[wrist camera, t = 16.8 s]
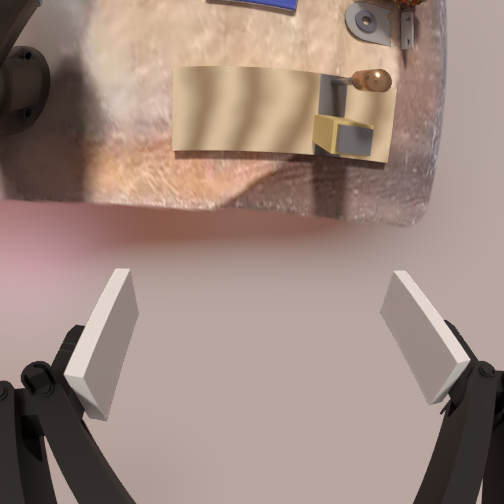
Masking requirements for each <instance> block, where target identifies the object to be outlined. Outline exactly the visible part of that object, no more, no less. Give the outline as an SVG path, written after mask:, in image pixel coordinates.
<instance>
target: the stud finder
mask: <svg viewBox="0 0 504 504" xmlns="http://www.w3.org/2000/svg"><path fill="white" fill-rule="evenodd" d="M373 127H374V126H373V125H370V124H366V123H363V122H359V121H356V120H352V119H349V118H343V117H335V116H327V115H319V114H314V125H313V136H312V142H314V143H316V144H317V145H319V146H320V147H322V148H323V149H325V150H326V151H328V152H329V153H331V154H341V155H350V156H359V157H367V158H369V157H370V154H371V147H372V139H373V131H374V130H373Z"/></svg>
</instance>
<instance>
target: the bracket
mask: <svg viewBox="0 0 504 504" xmlns="http://www.w3.org/2000/svg"><path fill="white" fill-rule="evenodd" d="M389 13H390V10H388V9H385V8H382V7H378V6H375V5H372V4H368V3H364V2H357V3H353V4H352V5H350V6H349V7H348V8H347V10H346V13H345V21H346V24H347V26H348V28H349V30H350V31H351V32H352V33H353V34H354V35H355V36H357V37H358V38H360V39H362V40H366V41H370V42H374V43H378V44H382V45H386V46H390V47H391V42H390V41H389V38H390V37H391V21H390V20H389V17H388V15H389ZM363 17H366V18H368V19H369V21H370V24H369V25H365V24H364V23H363V21H362V18H363ZM408 17H410V21H407V18H408ZM413 38H414V30H413V12H412V11H409V12H405V13H401V50H405V49H413ZM408 39H409V46H408Z"/></svg>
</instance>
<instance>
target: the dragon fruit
mask: <svg viewBox="0 0 504 504" xmlns="http://www.w3.org/2000/svg"><path fill="white" fill-rule="evenodd" d="M375 1H377V2H379V1H378V0H375ZM383 1H385V2H386V1H388V2H389V1H391V0H383ZM392 1H393V2H394V3H396V6H397V7H398V8H399V9H401V8H400V7H401V6H400V4H401V3H403V2H406V4H407V5H408V6H409V7H411V8H412V7H415V4H417V5H419V4H420V3H421V2H425V1H426V0H392ZM404 9H405V8H402V9H401V10H404Z"/></svg>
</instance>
